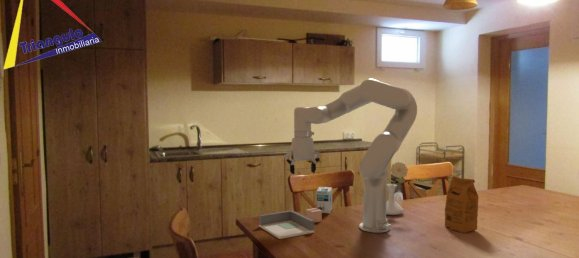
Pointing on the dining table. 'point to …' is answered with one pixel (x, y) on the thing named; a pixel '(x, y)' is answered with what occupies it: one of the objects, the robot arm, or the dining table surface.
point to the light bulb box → (324, 199)
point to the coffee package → (461, 205)
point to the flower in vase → (399, 172)
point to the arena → (286, 224)
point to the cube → (314, 214)
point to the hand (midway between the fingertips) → (303, 173)
